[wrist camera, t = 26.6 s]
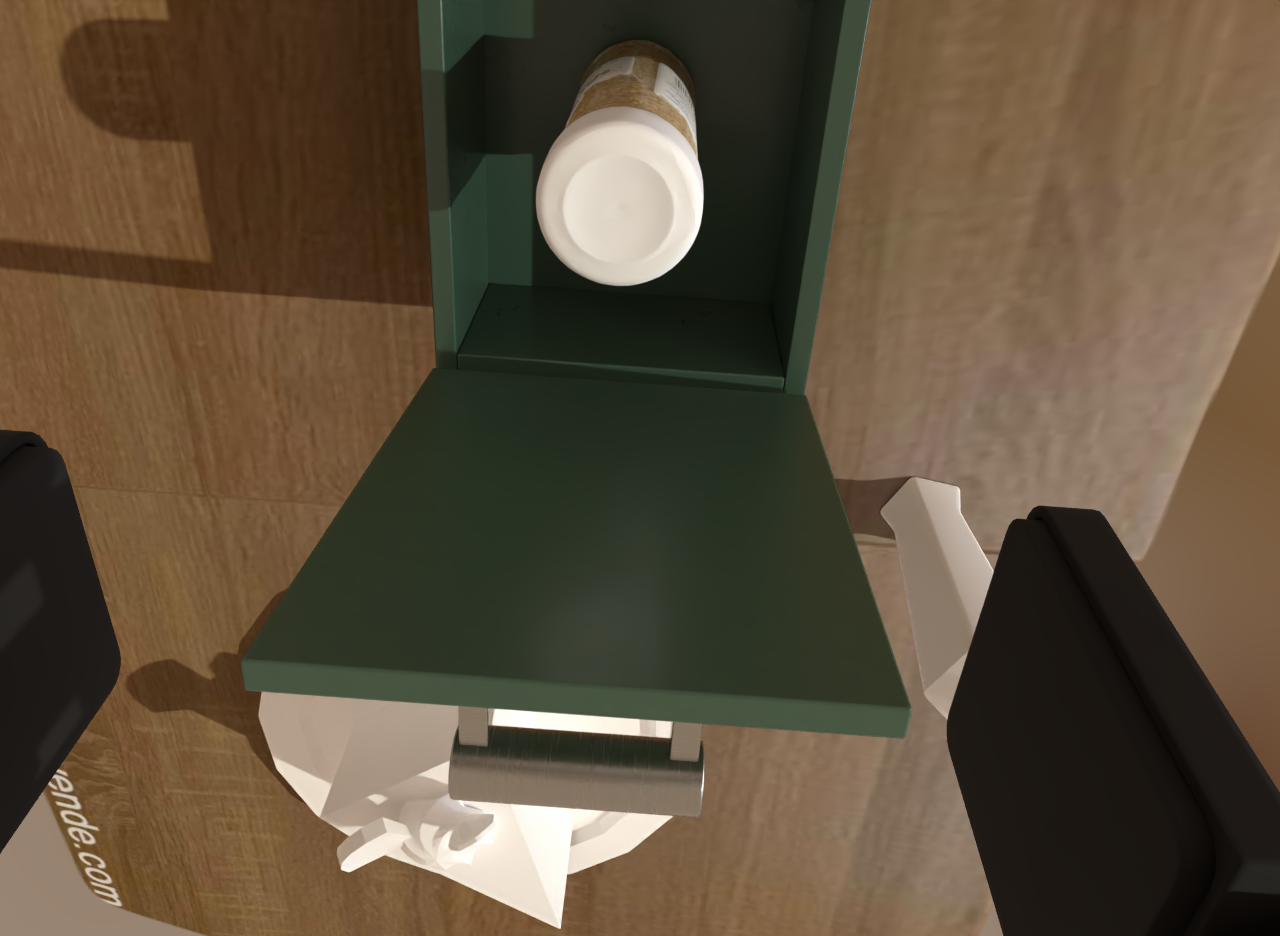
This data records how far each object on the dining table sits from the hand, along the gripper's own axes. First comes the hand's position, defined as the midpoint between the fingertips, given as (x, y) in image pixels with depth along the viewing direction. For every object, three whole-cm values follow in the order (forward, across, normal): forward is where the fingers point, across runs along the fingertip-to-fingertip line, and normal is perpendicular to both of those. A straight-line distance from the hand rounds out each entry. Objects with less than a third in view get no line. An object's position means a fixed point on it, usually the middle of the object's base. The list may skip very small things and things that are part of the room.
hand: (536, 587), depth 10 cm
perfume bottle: (+32, -15, +20) cm, 41 cm away
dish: (+32, +7, +37) cm, 50 cm away
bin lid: (+15, 0, +9) cm, 18 cm away
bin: (+32, 0, +2) cm, 32 cm away
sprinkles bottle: (+32, 0, +2) cm, 32 cm away
